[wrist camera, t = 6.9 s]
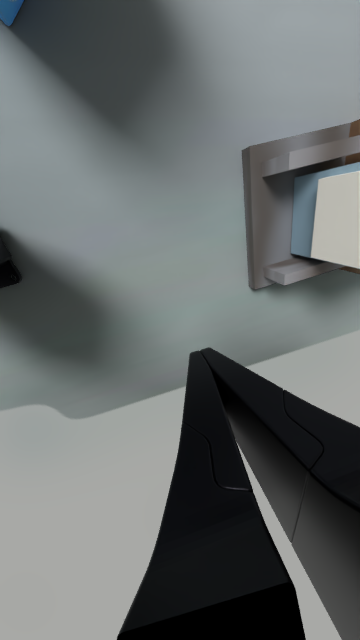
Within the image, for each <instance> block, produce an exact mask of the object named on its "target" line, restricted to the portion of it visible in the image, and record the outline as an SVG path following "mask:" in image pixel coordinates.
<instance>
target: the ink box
mask: <svg viewBox="0 0 360 640" xmlns="http://www.w3.org/2000/svg"><path fill="white" fill-rule="evenodd" d="M23 2H24V0H0V19H1V20H2V21H3V22H4V23H5V24H6V25H7V26H10V25H11V24H12V23H13V20H14V18H15V17H16V15H17V13H18V11H19V9H20V7H21V5H22V3H23Z"/></svg>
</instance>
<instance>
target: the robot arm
mask: <svg viewBox="0 0 360 640" xmlns="http://www.w3.org/2000/svg"><path fill="white" fill-rule="evenodd" d="M11 275H14V276H15V277H16V280H14V279H12V278H11ZM21 280H22V276H21V274H20V273H19V271H18V269H17V268H16V266H15V265H14V263H13V261H12V260H11V254H10V252H9V251H8V249H7V247H6V246H5V244H4V242H3V241H2V239H1V238H0V288H3V287H6V286H10V285H14V284H17V283H19V282H20V281H21ZM235 439H236V440H235ZM236 441H237V443H238V445H239V447H240V449H241V450H242V452H243V454H244V456H245V458H246V460H247V462H248V463H249V465H250V467H251V469H252V471H253V473H254V475H255V477H256V479H257V480H258V482H259V484H260V486H261V488H262V490H263V492H264V494H265V496H266V497H267V499H268V501H269V503H270V505H271V507H272V509H273V511H274V512H275V514H276V516H277V518H278V520H279V522H280V524H281V526H282V527H283V529H284V531H285V533H286V535H287V537H288V539H289V541H290V542H291V543H292V546H293V548H294V550H295V552H296V554H297V556H298V558H299V560H300V561H301V563H302V565H303V567H304V569H305V571H306V573H307V575H308V577H309V578H310V580H311V582H312V584H313V586H314V588H315V589H316V592H317V593H318V595H319V597H320V599H321V601H322V603H323V605H324V607H325V608H326V610H327V612H328V614H329V616H330V618H331V620H332V622H333V624H334V625H335V627H336V629H337V631H338V633H339V635H340V637H341V639H342V640H360V427H358V426H356V425H353V424H352V423H349V422H347V421H345V420H343V419H341V418H339V417H336V416H334V415H332V414H330V413H328V412H326V411H324V410H322V409H320V408H318V407H316V406H314V405H311V404H310V403H308V402H306V401H304V400H302V399H300V398H299V397H297V396H295V395H293V394H291V393H290V392H288V391H286V390H283V389H282V388H280V387H278V386H277V385H275V384H274V383H272V382H270V381H268V380H266V379H265V378H263V377H261V376H259V375H258V374H256V373H254V372H252V371H251V370H249V369H247V368H245V367H243V366H242V365H240V364H238V363H236V362H235V361H233V360H231V359H229V358H228V357H226V356H224V355H222V354H220V353H219V352H217V351H215V350H213V349H212V348H205V349H202V350H200V351H195V352H192V353H190V357H189V366H188V375H187V384H186V393H185V402H184V410H183V420H182V428H181V436H180V442H179V449H178V455H177V460H176V464H175V469H174V473H173V477H172V481H171V485H170V490H169V494H168V498H167V502H166V506H165V510H164V514H163V518H162V522H161V526H160V530H159V534H158V538H157V541H156V544H155V548H154V551H153V554H152V557H151V560H150V563H149V566H148V568H147V571H146V573H145V576H144V578H143V580H142V582H141V584H140V587H139V589H138V591H137V594H136V596H135V598H134V601H133V603H132V605H131V607H130V609H129V612H128V614H127V616H126V619H125V621H124V623H123V625H122V628H121V630H120V632H119V634H118V637H117V640H306V638H305V634H304V629H303V624H302V619H301V614H300V609H299V605H298V599H297V595H296V590H295V587H294V584H293V582H292V580H291V578H290V576H289V574H288V572H287V569H286V567H285V565H284V563H283V561H282V559H281V557H280V554H279V552H278V550H277V548H276V546H275V544H274V542H273V539H272V537H271V535H270V533H269V531H268V529H267V526H266V524H265V522H264V519H263V517H262V514H261V511H260V509H259V506H258V503H257V501H256V498H255V495H254V493H253V489H252V486H251V483H250V480H249V477H248V474H247V472H246V469H245V466H244V463H243V460H242V457H241V454H240V451H239V448H238V445H237V443H236Z"/></svg>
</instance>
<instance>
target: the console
mask: <svg viewBox="0 0 360 640" xmlns="http://www.w3.org/2000/svg"><path fill="white" fill-rule="evenodd" d="M242 160H243V180H244V199H245V218H246V238H247V257H248V276H249V287H251V288H253V289H255V290H256V289H259V288H262V287H265V286H268V285H272V284H275V283H280V284H282V285H288V284H291V283H294V282H297V281H300V280H304V279H307V278H310V277H313V276H316V275H319V274H323V273H326V272H329V271H332V270H335V269H341V270H345V271H349V272H353V273H357V274H360V269H357V268H353V267H349V266H344V265H340V264H336V263H331V262H327V261H323V260H318V259H314V258H309V257H305V256H301V255H296V254H292V253H291V238H292V219H293V200H294V180H295V177H299V176H303V175H307V174H311V173H315V172H318V171H322V170H326V169H331V168H335V167H340V166H344V165H348V164H353V163H357V162H360V119H359V120H357V121H354V122H352V123H348V124H344V125H339V126H335V127H331V128H327V129H322V130H318V131H314V132H309V133H305V134H301V135H296V136H292V137H288V138H284V139H279V140H275V141H271V142H266V143H262V144H258V145H253V146H249V147H248V148H246V149H244V150H242Z"/></svg>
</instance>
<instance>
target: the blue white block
mask: <svg viewBox="0 0 360 640" xmlns="http://www.w3.org/2000/svg"><path fill="white" fill-rule="evenodd" d="M291 253H292V254H296V255H301V256H305V257H309V258H314V259H318V260H323V261H327V262H331V263H336V264H340V265H344V266H349V267H353V268H357V269H360V162H357V163H353V164H348V165H344V166H340V167H335V168H331V169H326V170H322V171H318V172H315V173H311V174H307V175H303V176H299V177H295V180H294V200H293V219H292V238H291Z"/></svg>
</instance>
